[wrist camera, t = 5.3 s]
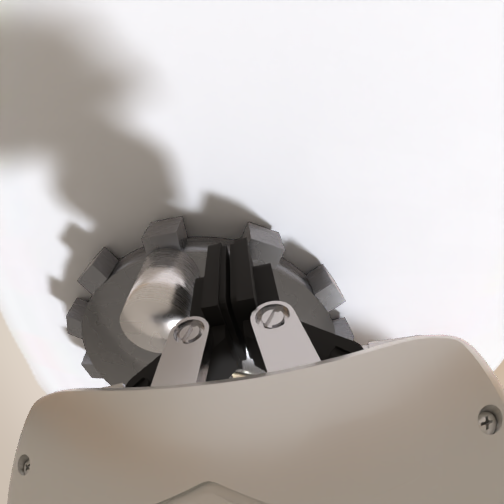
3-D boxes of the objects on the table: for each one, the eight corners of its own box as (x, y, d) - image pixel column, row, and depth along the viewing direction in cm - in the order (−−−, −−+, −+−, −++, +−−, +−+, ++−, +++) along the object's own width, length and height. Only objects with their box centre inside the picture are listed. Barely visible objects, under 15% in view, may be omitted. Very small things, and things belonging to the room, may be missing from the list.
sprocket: (272, 420, 26) (279, 467, 21) (82, 377, 21) (66, 427, 16) (395, 276, 18) (438, 335, 12) (89, 169, 13) (23, 210, 7)
